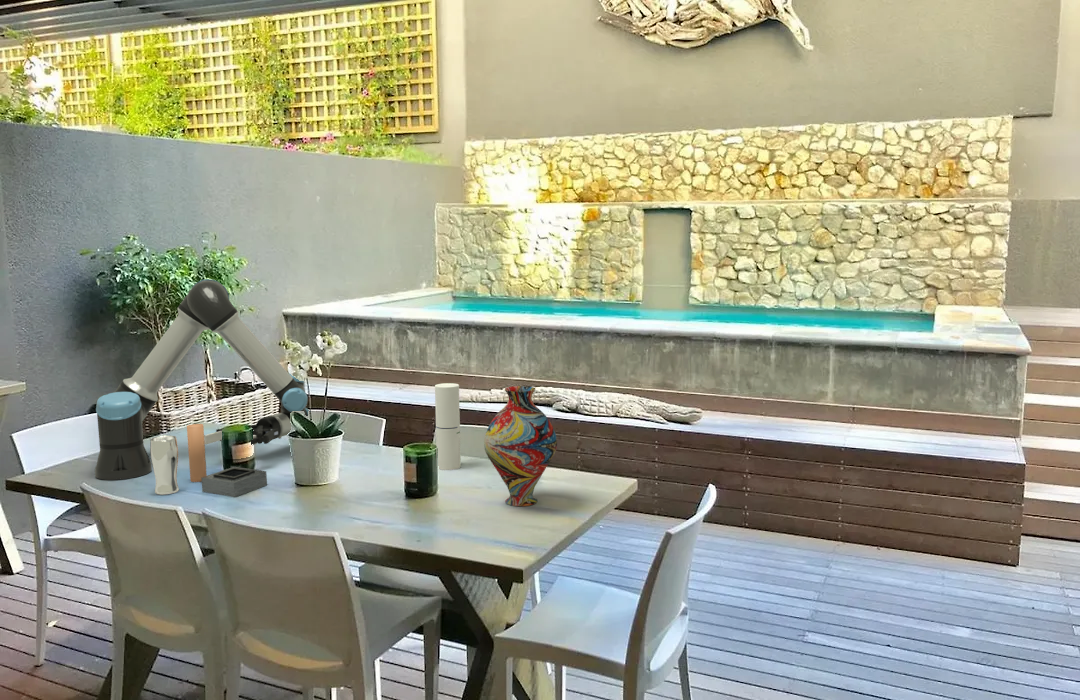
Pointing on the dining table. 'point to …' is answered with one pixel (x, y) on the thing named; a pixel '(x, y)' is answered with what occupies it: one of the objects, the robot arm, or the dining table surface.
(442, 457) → the cylindrical container
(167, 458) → the beer glass
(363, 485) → the dining table surface
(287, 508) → the dining table surface
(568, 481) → the dining table surface
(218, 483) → the collar block
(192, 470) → the terracotta peg
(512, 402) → the vase
